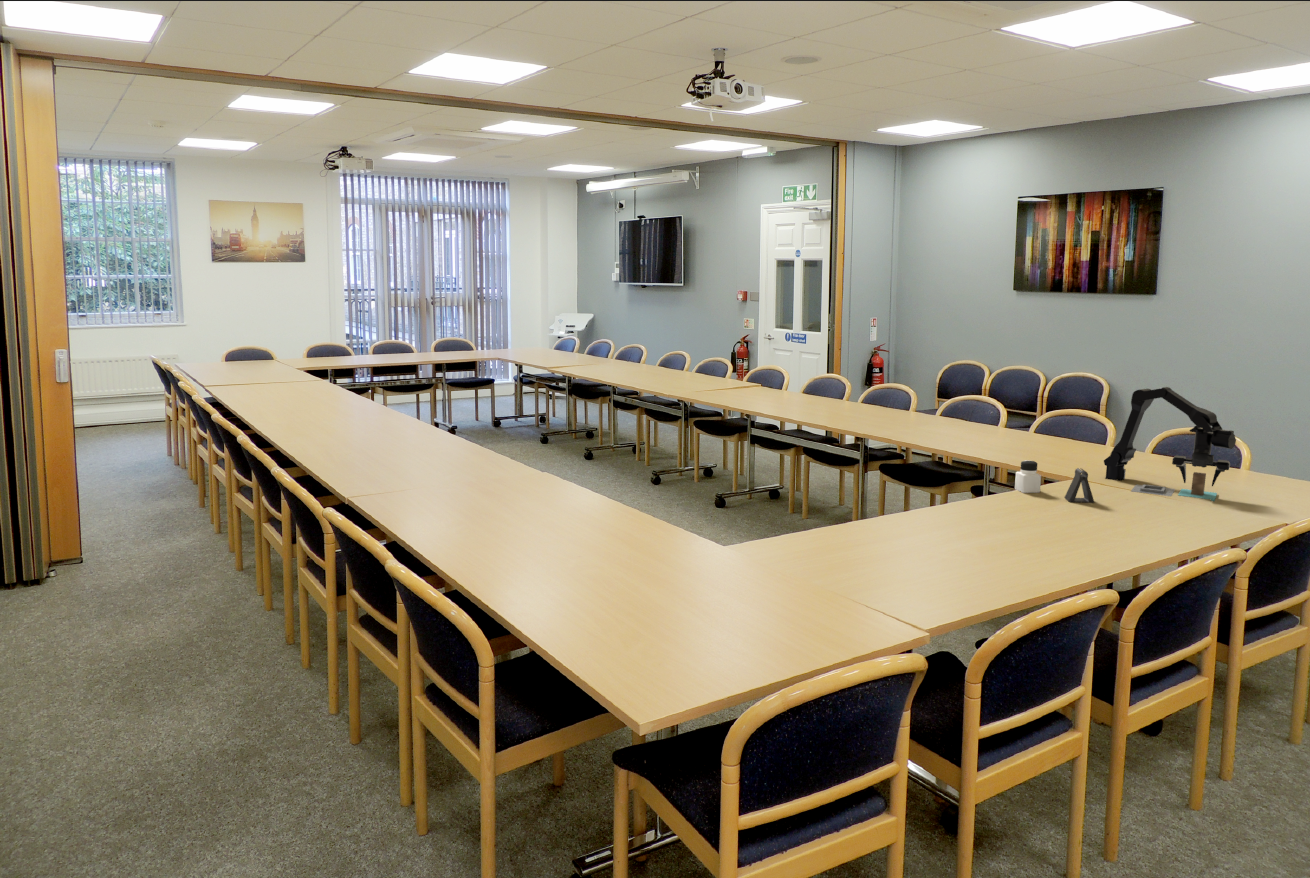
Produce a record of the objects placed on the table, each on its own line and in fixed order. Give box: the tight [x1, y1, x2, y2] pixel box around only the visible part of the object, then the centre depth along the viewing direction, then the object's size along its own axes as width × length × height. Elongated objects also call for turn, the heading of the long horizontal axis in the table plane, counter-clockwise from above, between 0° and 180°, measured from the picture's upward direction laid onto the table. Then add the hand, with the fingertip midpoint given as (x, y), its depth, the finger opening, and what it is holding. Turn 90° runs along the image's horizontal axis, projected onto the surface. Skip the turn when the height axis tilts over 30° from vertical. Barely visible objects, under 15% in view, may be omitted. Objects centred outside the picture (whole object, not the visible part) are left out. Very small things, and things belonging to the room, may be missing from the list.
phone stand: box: [1064, 467, 1095, 504], centre depth 345 cm, size 9×6×12 cm, turn 81°
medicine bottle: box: [1014, 459, 1042, 494], centre depth 360 cm, size 7×7×12 cm
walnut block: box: [1190, 471, 1207, 496], centre depth 351 cm, size 4×4×8 cm
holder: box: [1130, 484, 1176, 497], centre depth 359 cm, size 14×14×2 cm
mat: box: [1177, 488, 1218, 502], centre depth 352 cm, size 12×12×1 cm
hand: (1198, 484), depth 351 cm, fingers open, 9 cm apart
